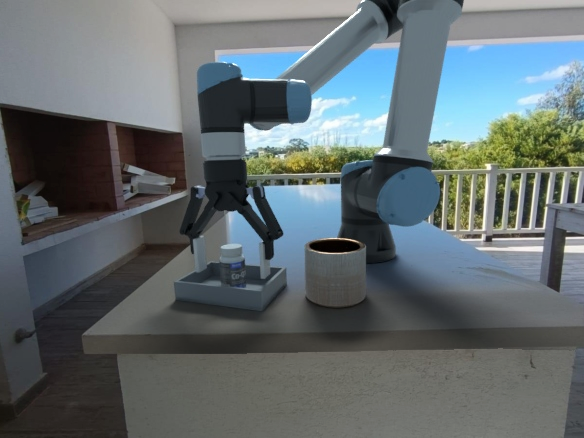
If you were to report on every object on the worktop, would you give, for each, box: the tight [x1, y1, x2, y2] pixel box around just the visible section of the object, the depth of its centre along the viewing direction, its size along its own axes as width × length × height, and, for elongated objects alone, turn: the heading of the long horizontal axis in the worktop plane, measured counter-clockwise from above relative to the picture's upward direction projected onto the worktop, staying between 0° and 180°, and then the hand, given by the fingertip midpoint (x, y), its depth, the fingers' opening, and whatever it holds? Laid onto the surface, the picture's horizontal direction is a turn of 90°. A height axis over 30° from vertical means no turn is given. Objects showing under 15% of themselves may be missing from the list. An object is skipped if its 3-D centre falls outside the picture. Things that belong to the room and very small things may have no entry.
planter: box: [304, 237, 367, 309], centre depth 60 cm, size 11×11×10 cm
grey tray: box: [173, 260, 288, 312], centre depth 64 cm, size 17×12×4 cm
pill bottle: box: [218, 243, 246, 288], centre depth 63 cm, size 5×5×8 cm
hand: (232, 273), depth 63 cm, fingers open, 13 cm apart
